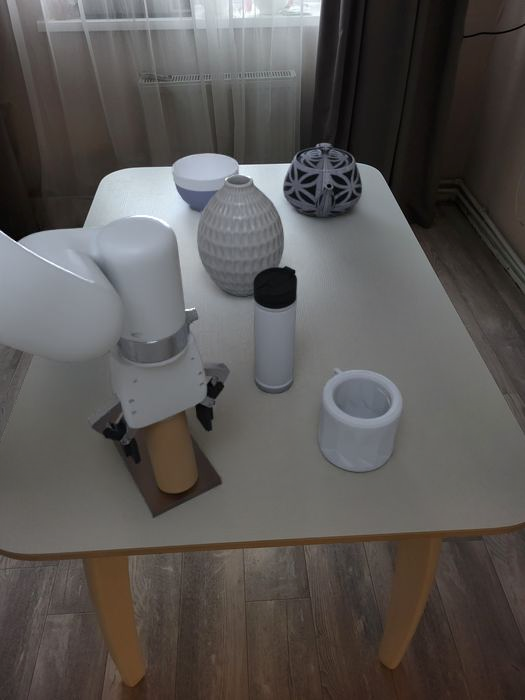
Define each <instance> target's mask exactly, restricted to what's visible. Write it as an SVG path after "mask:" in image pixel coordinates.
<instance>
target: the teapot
mask: <svg viewBox="0 0 525 700" xmlns="http://www.w3.org/2000/svg"><path fill="white" fill-rule="evenodd" d="M362 183H363V182H362V178H361V174H360V170H359V168H358V165H357V161H356V159H355V157H354V156H353V154H351V153H350V152H348V151H346V150H343V149H340V148H336V147H334V146H333V145H332V144H331V143H327V142H321V143H317V144H316V145H315V147H309V148H305V149H303V150H300V151H299V152H297V153H296V154H295V155H294V157H293V159H292V161H291V162H290V165H289V167H288V168H287V171H286V174H285V176H284V180H283V185H282V192H283V196H284V198H285V200H286V201H287V202H288V203H289V205H291V206H292V207H293V208H294V209H295V210H296V211H297V212H299V213H301V214H303V215H307V216H311V217H318V218H329V217H335V216H339V215H343V214H344V213H346V212H347V211H348V210H350V209H351V208H353V207H354V206H355V205H356V204H357V203H358V202H359V201H360V199H361V196H362V194H363V184H362Z"/></svg>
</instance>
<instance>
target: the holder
mask: <svg viewBox="0 0 525 700" xmlns="http://www.w3.org/2000/svg"><path fill="white" fill-rule="evenodd" d="M121 412H122V410H121V411H120V412H118V413H117V414H116V415H115V416H114V417H113V418H111V419H110V420H109V422H113V423H115V422H116V420H117V419H118V417H119V415H120V414H121ZM126 426H128V424H126ZM190 437H191V441H192V446H193V451H194V456H195V460H196V465H197V470H198V479H197V481H196V482H195V484H194V485H193V486H192V487H191V488H189V489H188V490H186V491H183V492H180V493H167V492H164V491H162V490H161V489H160V488H159V487H158V485H157V482H156V479H155V475H154V471H153V467H152V464H151V460H150V456H149V453H148V449H147V445H146V442H145V438H144V434H143V431H142V428H139V429H138V431H137V432H136V434H135V435H134V438H135V440H136V442H137V445H138V450H139V454H140V458H141V461H140V463H138V464H135V462H134V460H133V459H132V457H131V456H129V457H126V456H125V454H124V452H123V450H122V447H121V443H120V441H116V440H112V439H111V442H112V443H113V445H114V447H115V449H116V451H117V453H118V454H119V457H120V458H121V460H122V462H123V464H124V465H125V467H126V469H127V471H128V473H129V475H130V477H131V479H132V481H133V482H134V484H135V486H136V489H137V490H138V492H139V494H140V495H141V498H142V499H143V502H144V503H145V505H146V507H147V509H148V511H149V513H150V514H151V516H152V518H153V519H155V518H156V517H158V516H160V515H162V514H164V513H166V512H168V511H170V510H173V509H174V508H176V507H178V506H180V505H182V504H184V503H186V502H188V501H190V500H193V499H194V498H197V497H198V496H200V495H202V494H204V493H206V492H208V491H211V490H212V489H214V488H216V487H218V486H221V485H222V478H221V477H220V475H219V474H218V472H217V471H216V469H215V468H214V466H213V464H212V463H211V462H210V460H209V459H208V458H207V456H206V454H205V453H204V452H203V450H202V449H201V447H200V445H199V444H198V443H197V441H196V440H195V438H194V437H193V435H192V434H191V433H190Z"/></svg>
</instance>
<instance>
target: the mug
mask: <svg viewBox="0 0 525 700" xmlns="http://www.w3.org/2000/svg"><path fill="white" fill-rule="evenodd" d="M403 408H404V399H403V395H402V393H401V391H400V389H399V388H398V387H397V385H396V384H395V382H393V381H392V380H390V379H389V378H388V377H386V376H384V375H382V374H380V373H378V372H375V371H371V370H366V369H350V370H347V371H346V370H345V371H342V370H341V369H340V368H338V367H334V368H333V370H332V377H331V378H330V379H329V380H328V381H327V382H326V383H325V385H324V387H323V389H322V392H321V402H320V411H319V412H320V413H319V422H318V437H317V441H318V446H319V450H320V451H321V453H322V455H323V456H324V457H325V459H326V460H328V461H329V462H330V463H332V464H333V466H336V467H338V468H340V469H342V470H346V471H349V472H357V473H363V472H371V471H374V470H376V469H379V468H380V467H382V466H383V465H385V464H386V463H387V462H388V461H389V460H390V458H391V455H392V453H393V450H394V447H395V441H396V436H397V432H398V428H399V423H400V419H401V417H402V412H403Z"/></svg>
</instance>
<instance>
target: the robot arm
mask: <svg viewBox="0 0 525 700" xmlns="http://www.w3.org/2000/svg"><path fill="white" fill-rule="evenodd" d="M176 235H177V234H176V233H175V231H174V229H173V227H171V226H170V225H169V223H167V222H166V221H164V220H163V219H160V218H158V217H156V216H152V215H143V214H142V215H141V214H140V215H129V216H124V217H120V218H116V219H115V220H113V221H110V222H108V223H107V224H105V225H99V226H90V227H88V226H87V227H76V228H60V229H49V230H43V231H39V232H34V233H31V234H29V235H27V236H24V237H23V238H21V239H19V240H18V241H15V240H14V239H13V238H11V237H10V236H8V235H7V234H5V233H4V232H3V231H2V230H0V345H2V346H6V347H9V348H12V349H14V350H17V351H21V352H23V353H26V354H29V355H33V356H36V357H39V358H42V359H46V360H50V361H53V362H62V363H83V362H89V361H93V360H95V359H98V358H100V357H102V356H104V355H106V354H107V353H108V352H109V372H110V373H109V374H110V382H111V388H112V395H113V396H112V397H111V398H110V399H109V400H108V401H106V402H105V403H104V404H103V405H102V406H101V407H99V408H98V409H97V410H96V411H95V412H94V413H93V414H91V415H90V416H89V417H88V418H87V421H88V424H89V426H90V427H91V429H92V430H94V431H95V432H96V433H98V434H100V435H102V436H103V437H104V438H105V439H108V440H111V441H112V440H116V441H120V443H121V447H122V450H123V452H124V454H125V456H126V457H129V456H131V457H132V459H133V460H134V462H135V464H138V463H140V461H141V458H140V454H139V450H138V445H137V442H136V440H135V438H134V435H135V434H136V432H137V431H138V429H139V428H142V427H145V426H148V425H150V424H153V423H155V422H158V421H160V420H163V419H165V418H167V417H170V416H172V415H174V414H177V413H179V412H181V411H184V410H185V411H186V410H188V409H190V408H193V407H194V409H195V416H196V420H197V421H198V422H199V423H200V425H201V426H202V428H203V429H204V430H205V432H211V431H213V424H212V420H214V407H215V406H216V404H217V400H216V399H217V398H218V397H219V395H221V393H222V391H224V389H225V385H224V384H225V383H226V382H227V380H228V377H229V375H230V372H231V370H230V368H229V367H228V366H227V364H226V363H224V362H204V361H203V359H202V356H201V353H200V352H201V351H200V349H199V346H198V343H197V340H196V338H195V336H194V334H193V332H192V330H191V328H190V326H191V324H193V323H194V322H195V321H198V320H199V314H198V312H197V309H196V308H195V307H194V308H190V309H188V308H186V306H185V305H186V304H185V296H184V295H185V294H184V287H183V279H182V269H181V262H180V261H181V260H180V252H179V244H178V239H177V236H176ZM209 377H210V379H209V381H208V382H207V378H209ZM121 410H122V412H121V414H120V415H119V417H118V419H117V420H116V422H115V423H113V422H109V420H110V419H111V418H113V417H114V416H115V415H116V414H117V413H118V412H120V411H121ZM126 424H128V426H126Z"/></svg>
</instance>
